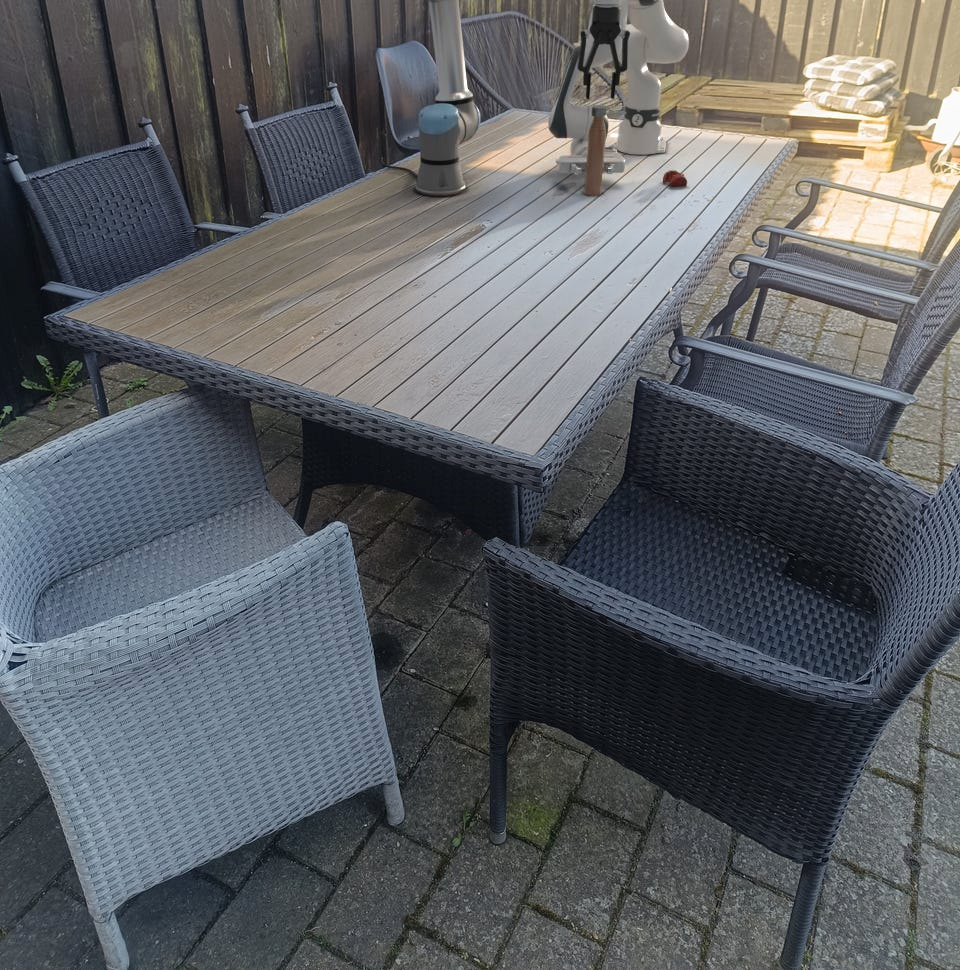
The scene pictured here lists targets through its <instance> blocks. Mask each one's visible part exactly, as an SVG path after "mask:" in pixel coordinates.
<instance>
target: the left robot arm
mask: <svg viewBox="0 0 960 970" xmlns="http://www.w3.org/2000/svg"><path fill="white" fill-rule="evenodd" d="M459 1H460V0H427V2H428V4H429V5H428V6H429V16H430V23H431V33H432V41H433V42H432V43H433V49H434V58H435V66H436V75H437V76H436V77H437V84H438V93H437V95H436V96H435V98H434V101H435V103H433V104H429V105H427V106H425V107H422V109H420V111H419V113H418V122H417V124H418V136H419V138H418V139H419V157H420V158H419V159H420V161H419V162H420V164H419V168H418V172H417V174H416V173H415V172H414V170H412V169H409V168H407V167H401V166H395V165H389V164H386V163H385V162H384V158H383V156H381V157H380V158H379V161H380V164H381V166H383V167H384V168H388V169H393V170H400V171H401V170H402V171H406V172H408V173H409V174H411V175H413V176H414V177H415V178H416V180H415V192H417V193H418V194H420V195H424V196H430V197H450V196H455V195H459V194H461V193H463V192H464V191H466V181H465V179H464V176H463V172H462V169H461V165H460V145H462V144H464V143H466V142H468V141H470V140H471V139H472V138H473V137H474V136H475V135H476V134H477V132H478V131H479V128H480V125H481V112H480V110H479V108H478V105H476V104H475V100H474V94H473V92H472V91H470V90H469V89H468V81H467V73H466V72H467V71H466V61H465V51H464V41H463V32H462V31H463V30H462V22H461V12H460V11H461V10H460V2H459ZM592 3H593V6H594V4H595V6H594V7H593V6H592V9H593V14H592V24H591V27H590V29H588V28H587V29H581V30H580V31H579V34H580V35H579V36H580V45H579V46H580V52H579V59H578V66H577V68H578V70H579V71H582V72H583V73H582V74H583V76H582V84H583V86H586V87H585V89H586V90H585V99H586V100H590V97H591V84H592V83H591V82H592V73H591V72H590V70H591V69H590V67H591V64H592V62H593V59H594V56H595V54H596V51H597V48H598V46H599V45H602V44H607V45H610V49H611V53H612V58H613V60H612V61H613V66H614V70H615V71H612V72H611V73H612V74H611V85H610V99H611V100H615V94H616V86H617V87H618V86H619V85H620V81H621V74H622V73H623V72H625V71H626V70H627V59H628V39H629V36H630V32H629V31H628V30H623V29H621V27H620V13H621V8H620V6H619V5H620V4H621V0H593V2H592ZM590 33H591V35H592V36H593V38H594V42H593V45H592V48H591V51H590V53H589V56H588V59H587V61H586V64H585V67H584V66H583V62H584V55H585V48H586V39H587V38H588V37H589V34H590ZM619 33H620V34H621V38H622V64H621V65H620V61H619V60H618V56H617V51H616V46H615V41H614V40H615V39H616V38H617V36H618V35H619Z"/></svg>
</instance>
